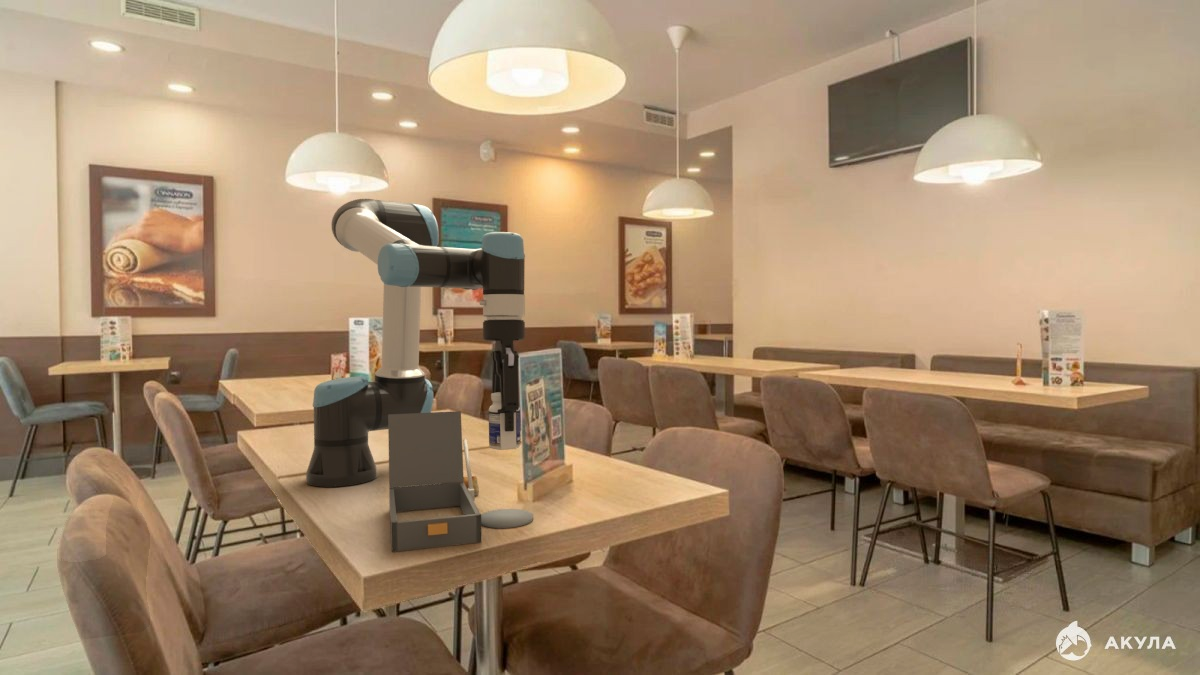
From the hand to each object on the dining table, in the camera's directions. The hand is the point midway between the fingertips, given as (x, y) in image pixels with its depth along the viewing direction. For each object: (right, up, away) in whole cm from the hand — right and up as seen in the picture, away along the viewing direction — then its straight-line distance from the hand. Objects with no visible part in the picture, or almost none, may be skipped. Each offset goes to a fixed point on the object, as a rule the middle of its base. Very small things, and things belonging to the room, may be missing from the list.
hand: (505, 445), depth 120 cm
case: (-13, -14, -1) cm, 19 cm away
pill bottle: (0, 0, 0) cm, 0 cm away
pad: (0, -14, 0) cm, 14 cm away
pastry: (-12, -14, +19) cm, 26 cm away
